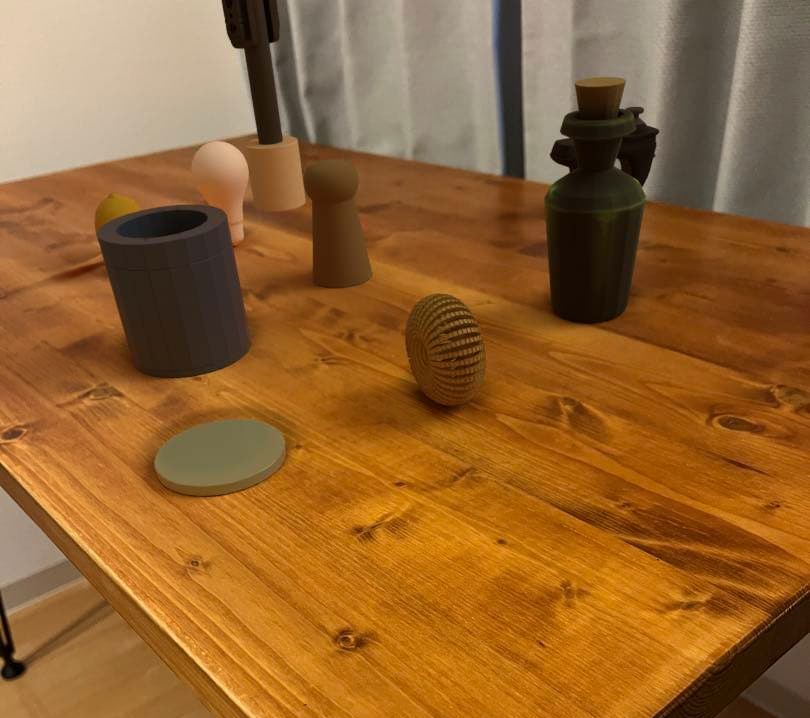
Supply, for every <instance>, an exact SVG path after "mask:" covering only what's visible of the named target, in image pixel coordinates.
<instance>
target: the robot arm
mask: <svg viewBox="0 0 810 718" xmlns="http://www.w3.org/2000/svg"><path fill="white" fill-rule="evenodd" d="M263 3H264V10H265V17H266V24H267V31H268V38H269V44H273V43H277V42H279V40H280V31H281V30H280V28H281V22H280V16H279V14H280V13H279V9H278V1H277V0H263ZM221 7H222V11H223V12H222V13H223V18H224V24H225V30H226V35H227V37H228V40H229V42H230V44H231V46H232V47H233V48H234V49H237V50H241V49H242V50H244V49H250V48H254V47H257V45H258V35H257V28H256V21H255V14H254V8H253V1H252V0H221Z"/></svg>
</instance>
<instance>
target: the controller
mask: <svg viewBox="0 0 810 718" xmlns="http://www.w3.org/2000/svg"><path fill="white" fill-rule="evenodd" d="M624 109H625V110H629V111H631V112H632V113H633V115H634V119H635V123H636V128H637V129H636V130H635V131H634V132H632V133H630V134H628V135H626V136H624V137H622V141H621V144H620V147H619V151H618V154H617V157H616V160H618V161H619V165H620V170H622V171H623V172H625V173H627V174H628V175H630V176H632V177H633V178H635V179H636V180H637V181H638V182H639V183H640V184H641V187H642V188H643V187H644V185H645V183H647V180H648V178H649V175H650V173H651V169H652V165H653V161H654V158H655V157H656V150H657V147H658V144H657V143H658V142H657V136H658V135H659V134H660V130H659V129H658V128H656V127H655V126H650V125H648V124H647V123H646V122H645V121H643V119H642V118H640V115H642V114H644V112H645V109H644V107H643V106H628V107H626V108H624ZM550 151H551V152H549V158H550V159H551V160H552V161H553V162H554V163H556V164H557V165H560V166H562V167H566V168H568V169H569V173H570V172H571V171H573V170H574V169H576V168H578V163H577V158H576V153H575V149H574V144H573V139H571V138H569V137H567V138H561V139H556V140H555V142H554V143H553V145H552V148H551V150H550Z"/></svg>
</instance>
